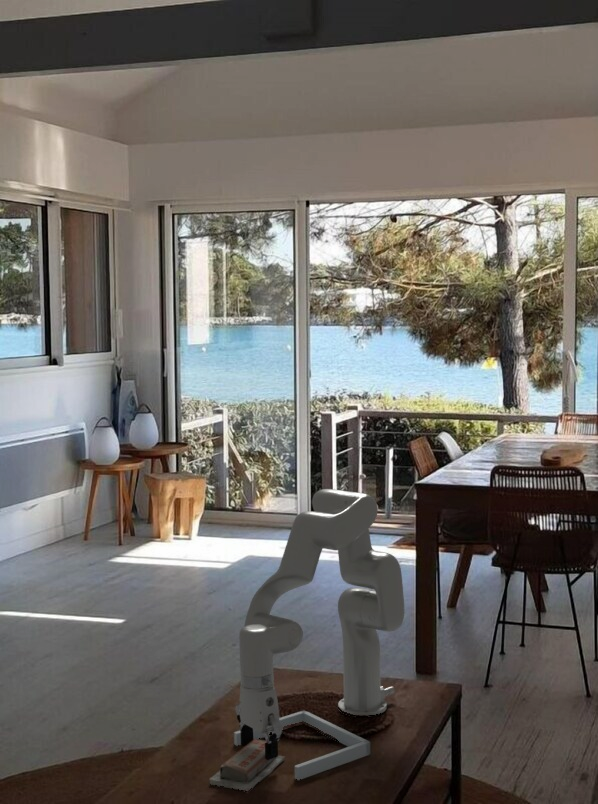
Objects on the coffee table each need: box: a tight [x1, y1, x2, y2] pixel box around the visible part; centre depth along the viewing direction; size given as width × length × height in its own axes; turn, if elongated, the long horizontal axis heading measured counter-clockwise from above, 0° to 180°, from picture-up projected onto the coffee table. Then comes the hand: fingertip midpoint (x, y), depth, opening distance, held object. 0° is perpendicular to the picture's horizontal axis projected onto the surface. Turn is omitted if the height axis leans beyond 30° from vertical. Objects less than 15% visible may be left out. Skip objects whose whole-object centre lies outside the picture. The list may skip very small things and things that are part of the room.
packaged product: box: [209, 739, 286, 791], centre depth 255 cm, size 18×5×10 cm
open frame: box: [233, 710, 371, 781], centre depth 266 cm, size 21×25×3 cm
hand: (259, 751), depth 259 cm, fingers open, 9 cm apart
